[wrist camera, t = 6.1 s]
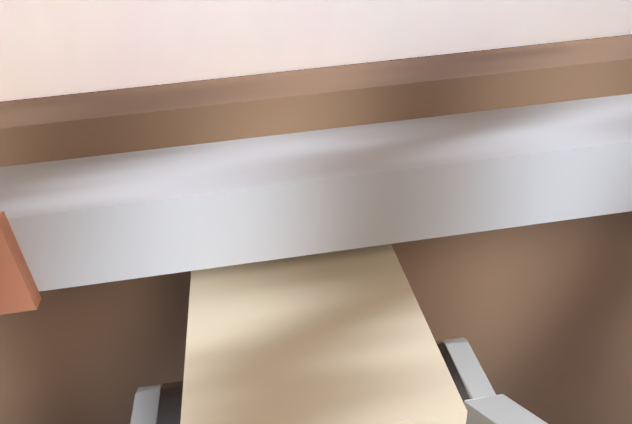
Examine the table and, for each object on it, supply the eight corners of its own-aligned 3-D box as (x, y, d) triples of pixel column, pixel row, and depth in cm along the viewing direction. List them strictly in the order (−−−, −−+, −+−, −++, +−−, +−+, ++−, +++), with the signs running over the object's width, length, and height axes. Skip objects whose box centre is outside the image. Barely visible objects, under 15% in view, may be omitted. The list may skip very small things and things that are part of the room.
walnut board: (833, 13, 13) (1037, 61, 10) (665, 407, 20) (747, 507, 17) (-179, 120, 11) (-347, 226, 8) (49, 510, 18) (13, 645, 15)
